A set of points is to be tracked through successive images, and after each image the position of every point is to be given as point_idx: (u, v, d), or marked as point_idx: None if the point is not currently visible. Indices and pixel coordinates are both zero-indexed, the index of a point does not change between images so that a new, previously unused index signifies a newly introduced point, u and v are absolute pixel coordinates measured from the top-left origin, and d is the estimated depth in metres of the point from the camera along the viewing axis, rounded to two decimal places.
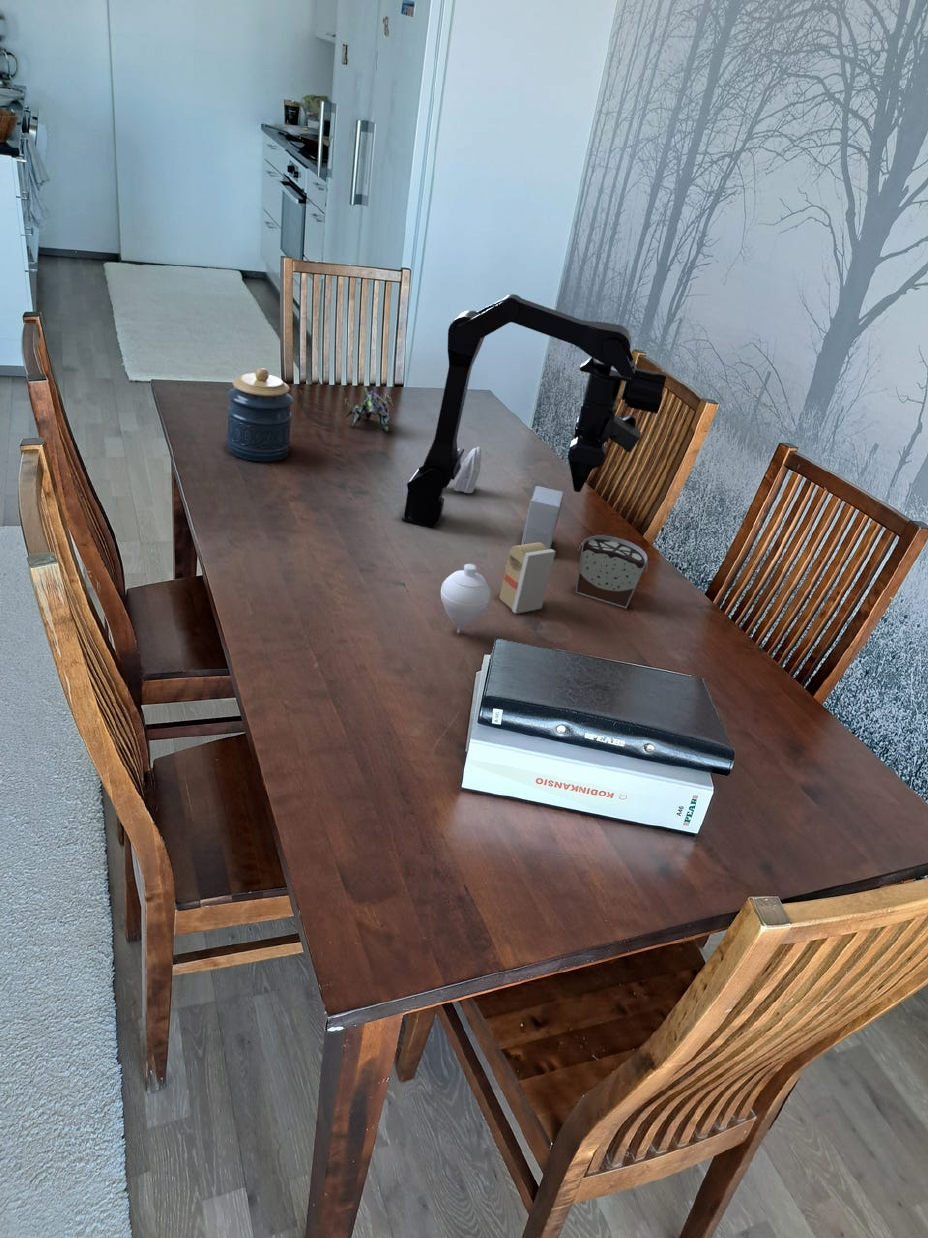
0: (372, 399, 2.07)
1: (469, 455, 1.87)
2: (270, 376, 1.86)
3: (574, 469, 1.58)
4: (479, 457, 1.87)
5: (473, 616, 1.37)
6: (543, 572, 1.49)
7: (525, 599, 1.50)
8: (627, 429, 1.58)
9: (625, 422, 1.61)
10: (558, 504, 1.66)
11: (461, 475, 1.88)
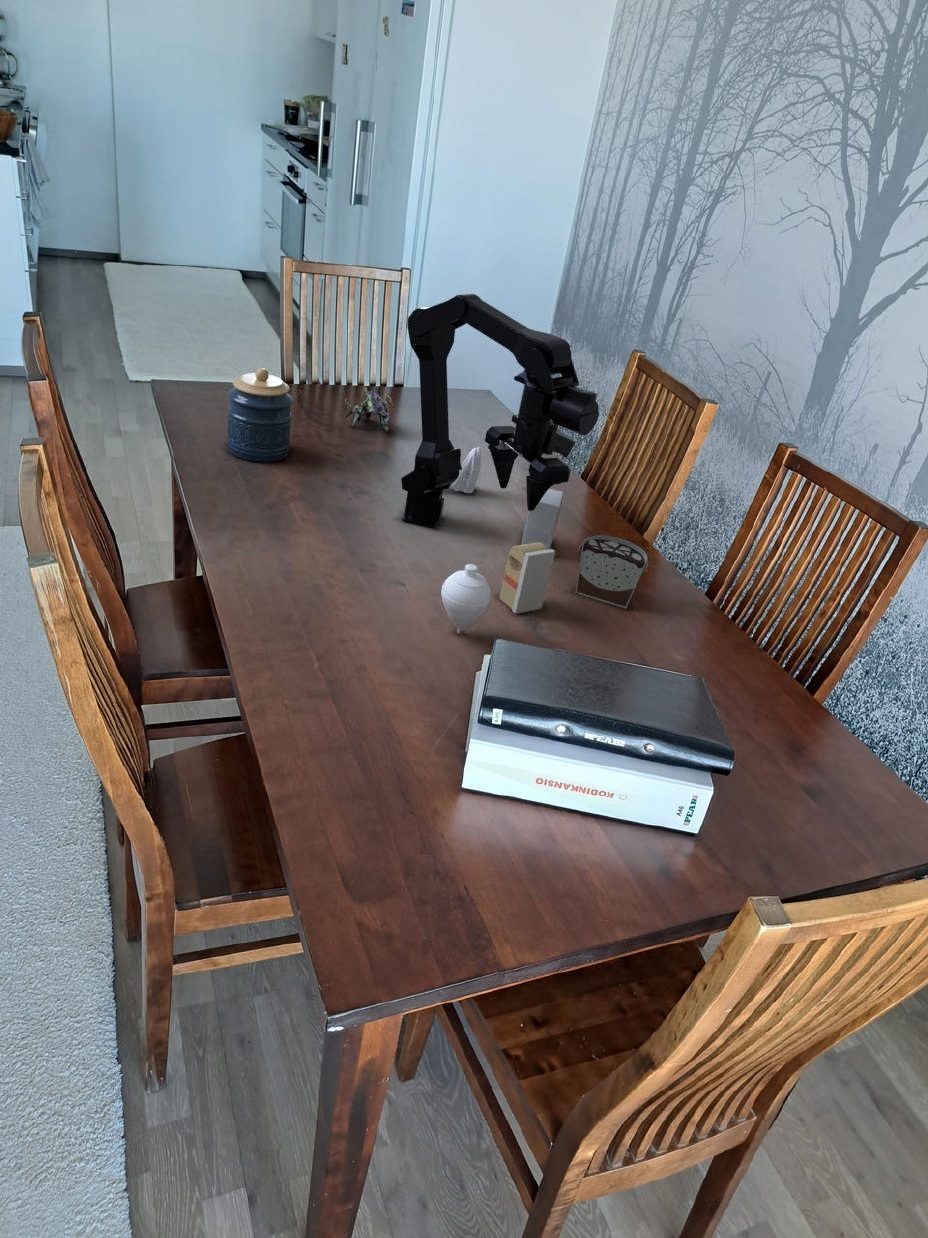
0: (372, 399, 2.07)
1: (469, 455, 1.87)
2: (270, 376, 1.86)
3: (534, 491, 1.52)
4: (479, 457, 1.87)
5: (473, 617, 1.37)
6: (543, 572, 1.49)
7: (525, 599, 1.50)
8: (564, 436, 1.55)
9: None
10: (558, 504, 1.66)
11: (461, 475, 1.88)
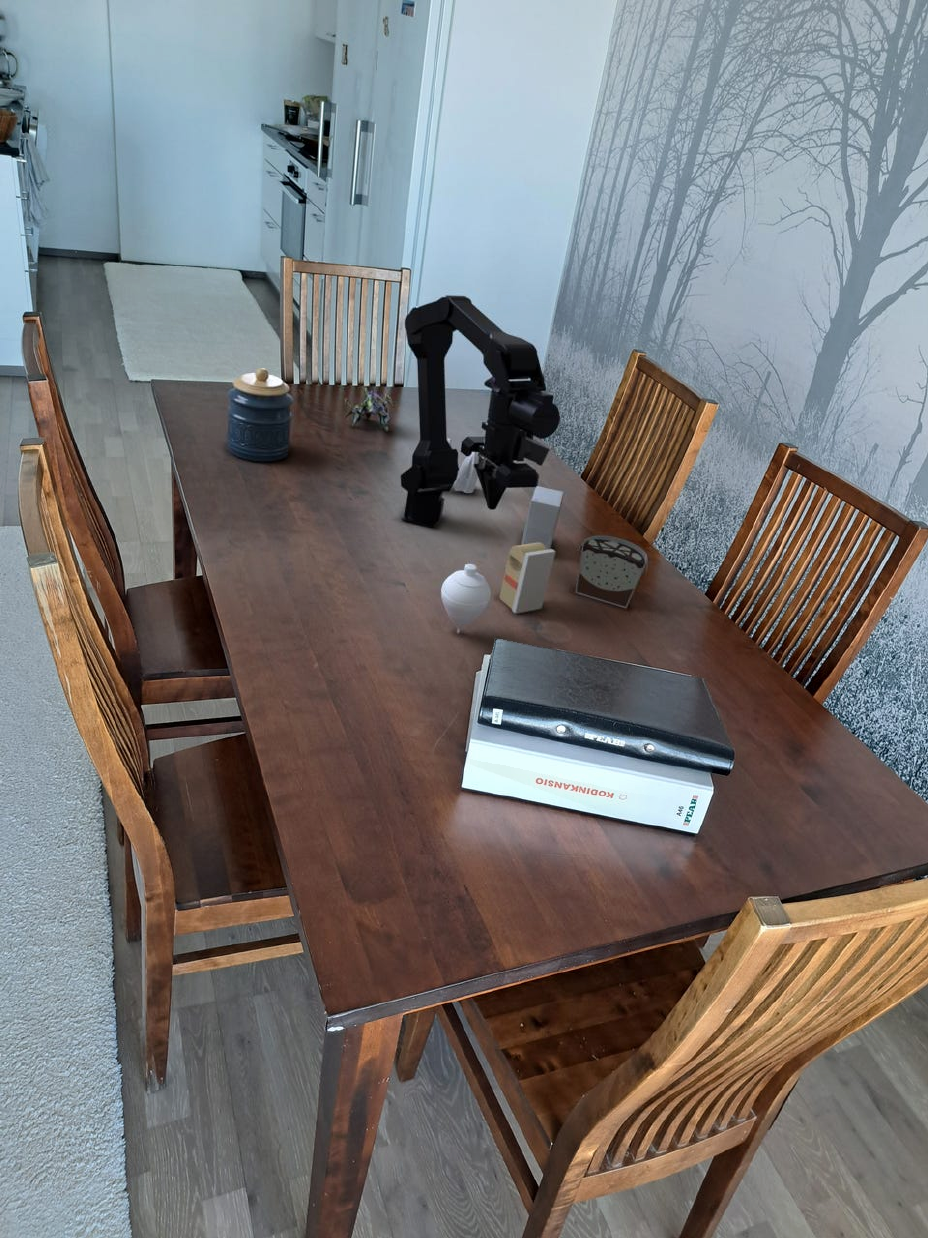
0: (372, 399, 2.07)
1: None
2: (270, 376, 1.86)
3: (492, 488, 1.52)
4: None
5: (473, 616, 1.37)
6: (543, 572, 1.49)
7: (525, 599, 1.50)
8: (537, 443, 1.52)
9: (526, 436, 1.54)
10: (558, 504, 1.66)
11: (461, 475, 1.88)
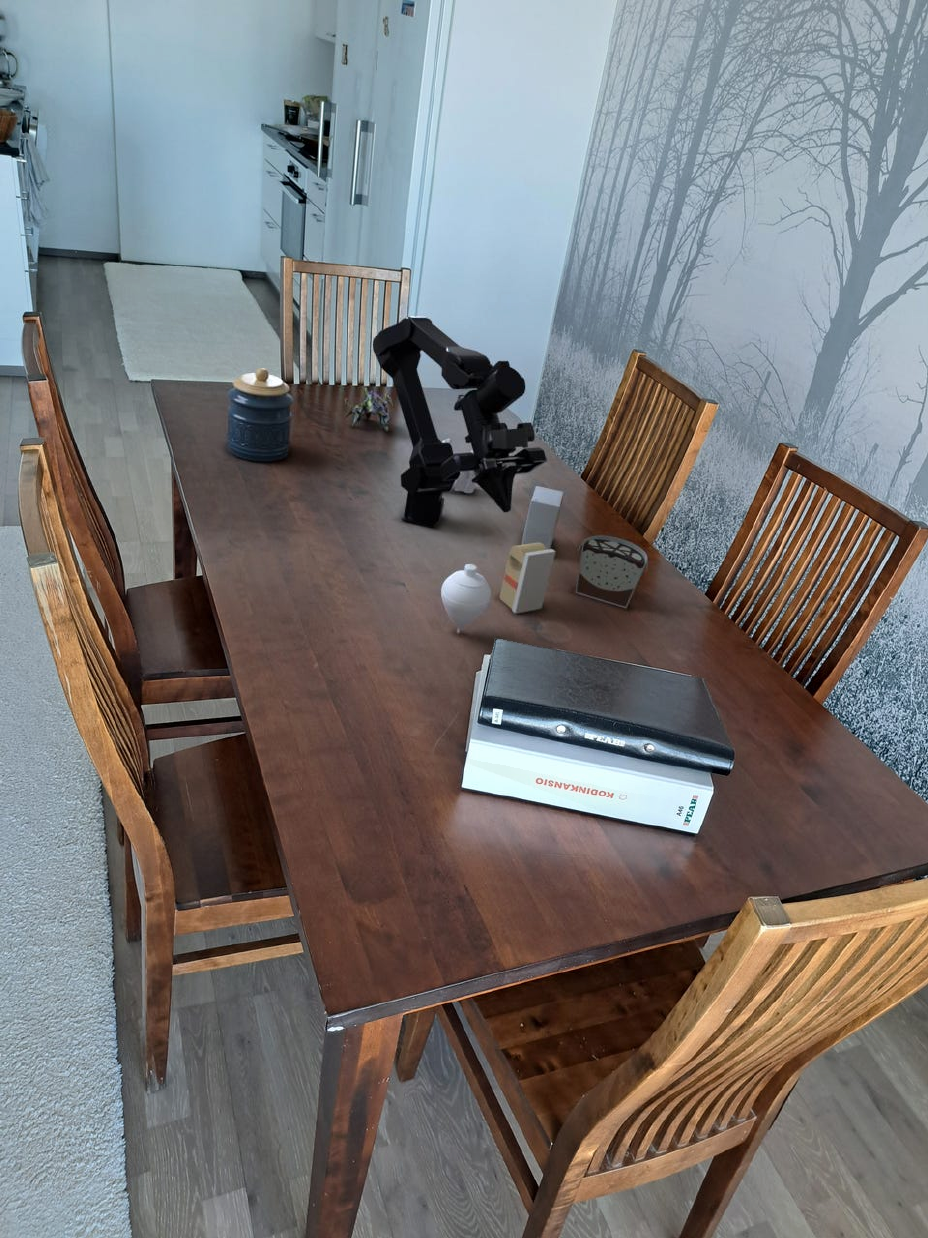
0: (372, 399, 2.07)
1: None
2: (270, 376, 1.86)
3: (488, 490, 1.53)
4: None
5: (473, 617, 1.37)
6: (543, 572, 1.49)
7: (525, 599, 1.50)
8: None
9: None
10: (558, 504, 1.66)
11: (461, 475, 1.88)
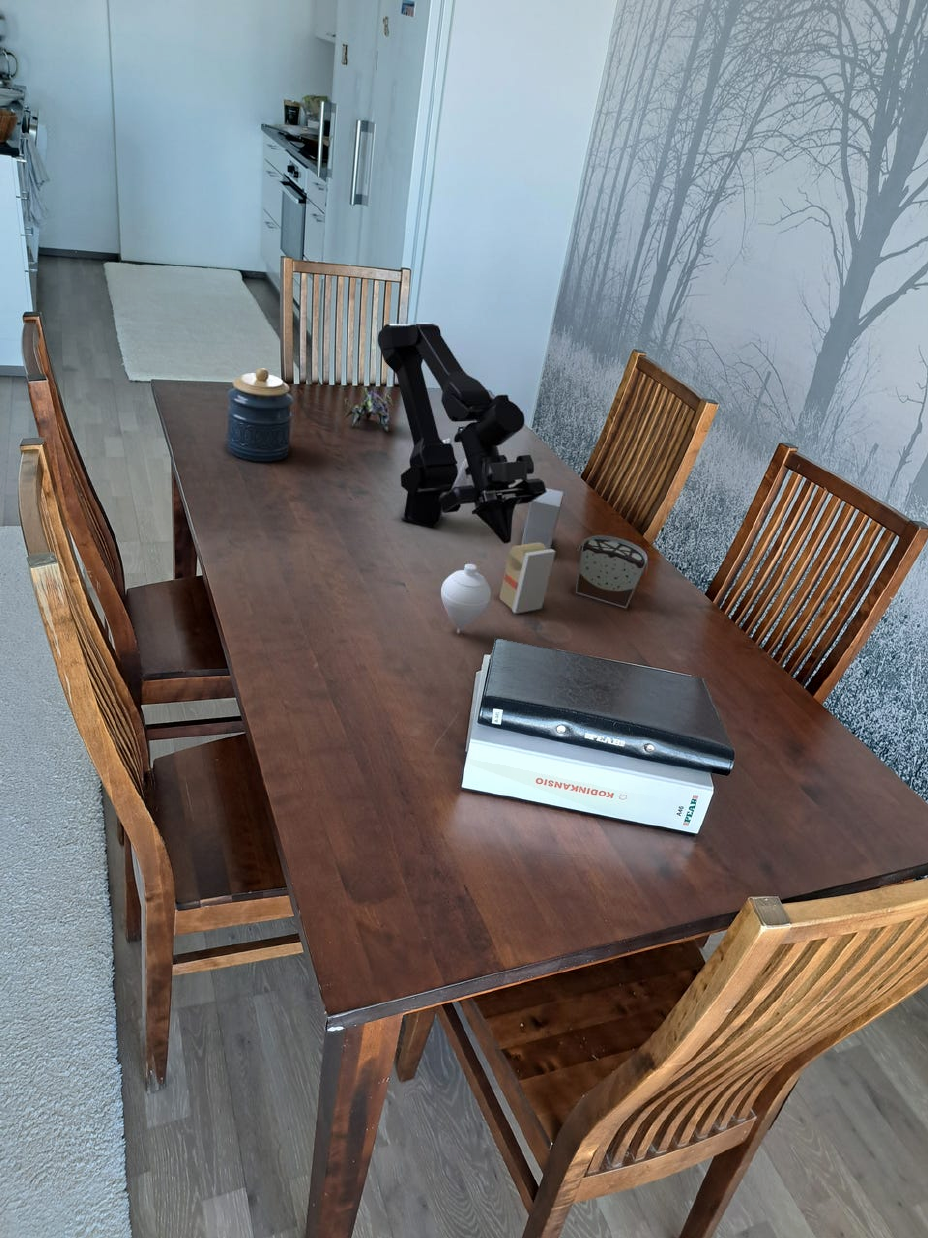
0: (372, 399, 2.07)
1: None
2: (270, 376, 1.86)
3: (488, 521, 1.54)
4: None
5: (473, 616, 1.37)
6: (543, 572, 1.49)
7: (525, 599, 1.50)
8: None
9: None
10: (558, 504, 1.66)
11: (461, 475, 1.88)
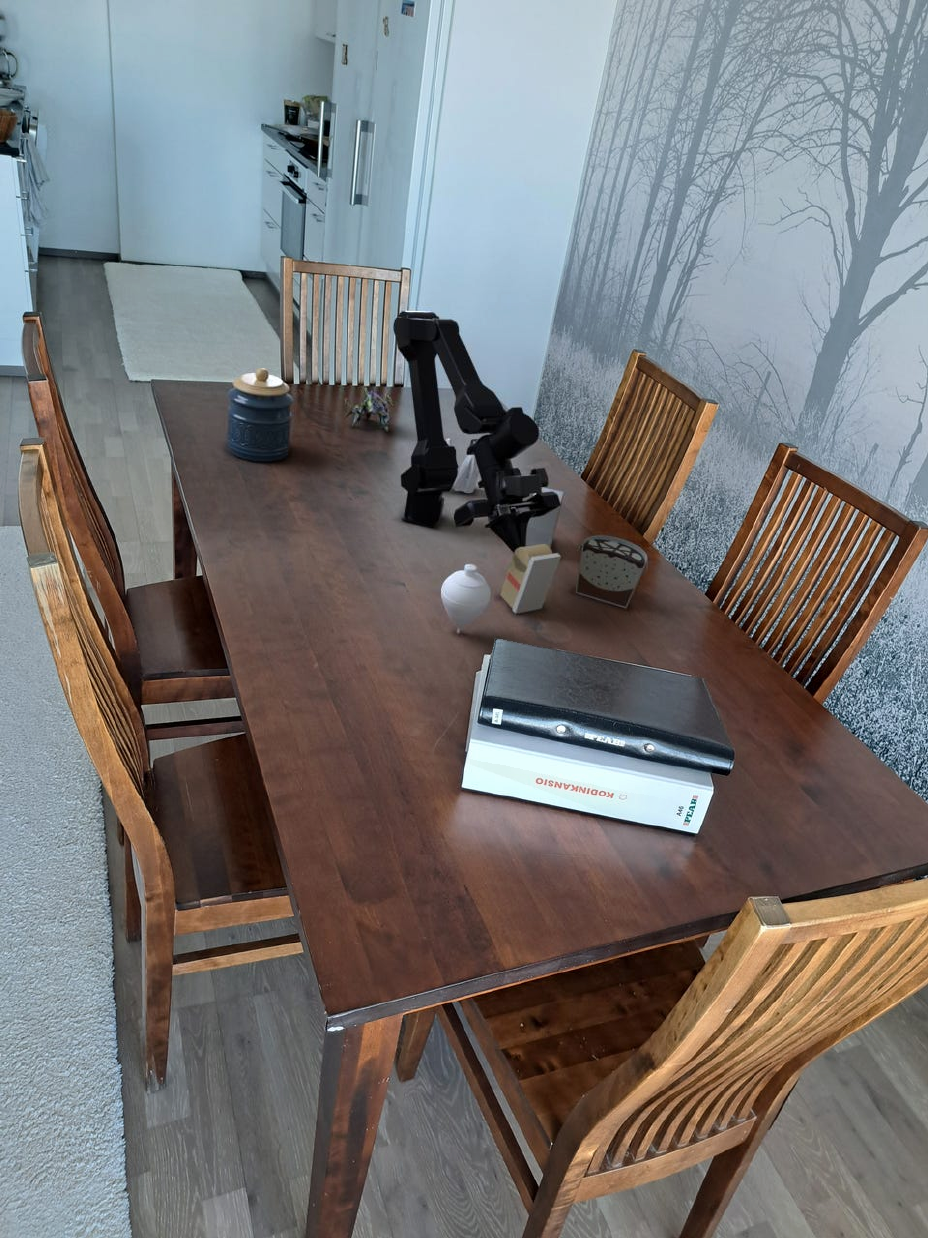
0: (372, 399, 2.07)
1: (469, 455, 1.87)
2: (270, 376, 1.86)
3: (501, 535, 1.52)
4: None
5: (473, 617, 1.37)
6: (547, 575, 1.48)
7: (526, 600, 1.49)
8: (513, 476, 1.46)
9: None
10: None
11: (461, 475, 1.88)
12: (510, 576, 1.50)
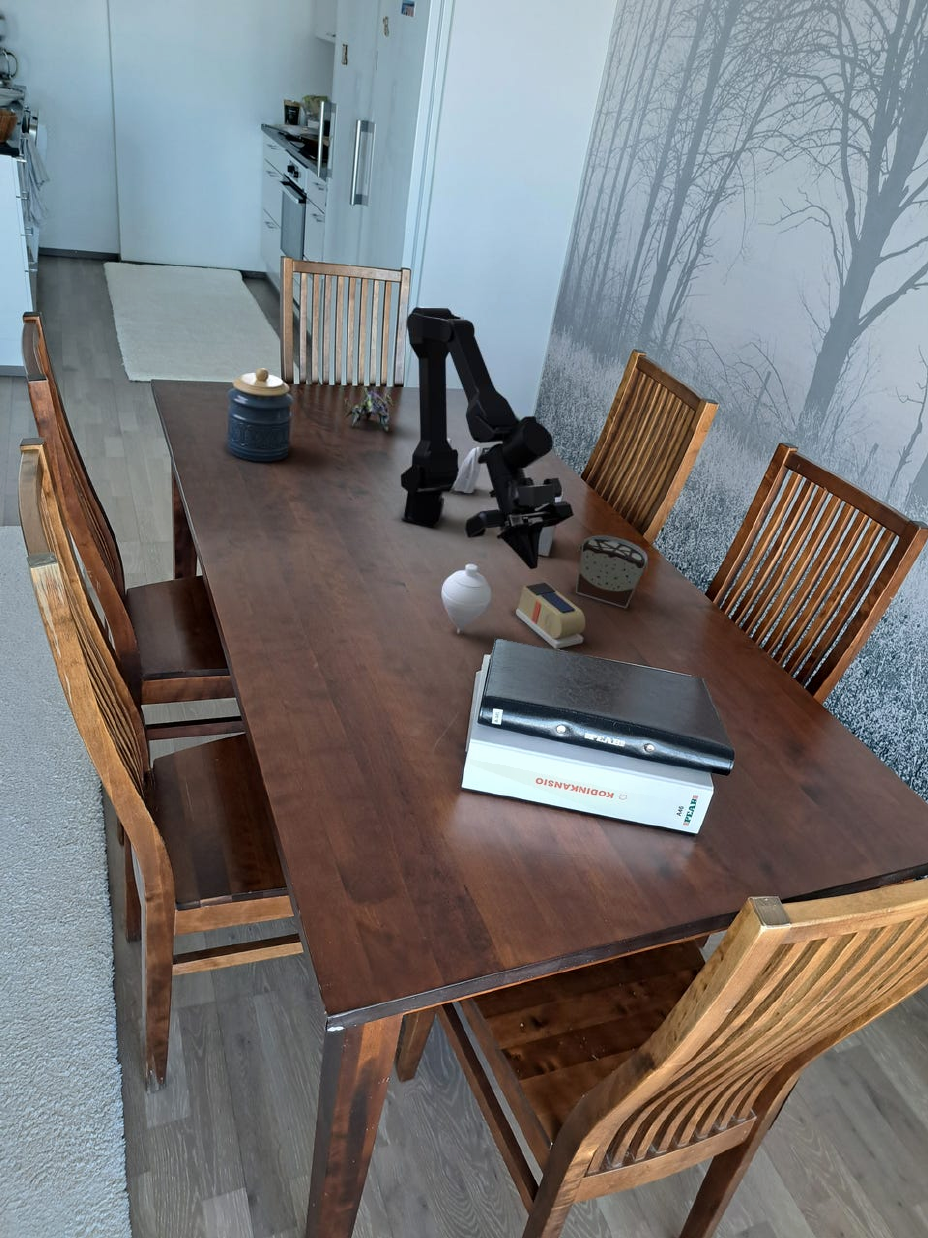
0: (372, 399, 2.07)
1: (469, 455, 1.87)
2: (270, 376, 1.86)
3: (513, 546, 1.49)
4: None
5: (473, 617, 1.37)
6: None
7: None
8: (526, 486, 1.44)
9: None
10: None
11: (461, 475, 1.88)
12: (538, 607, 1.45)
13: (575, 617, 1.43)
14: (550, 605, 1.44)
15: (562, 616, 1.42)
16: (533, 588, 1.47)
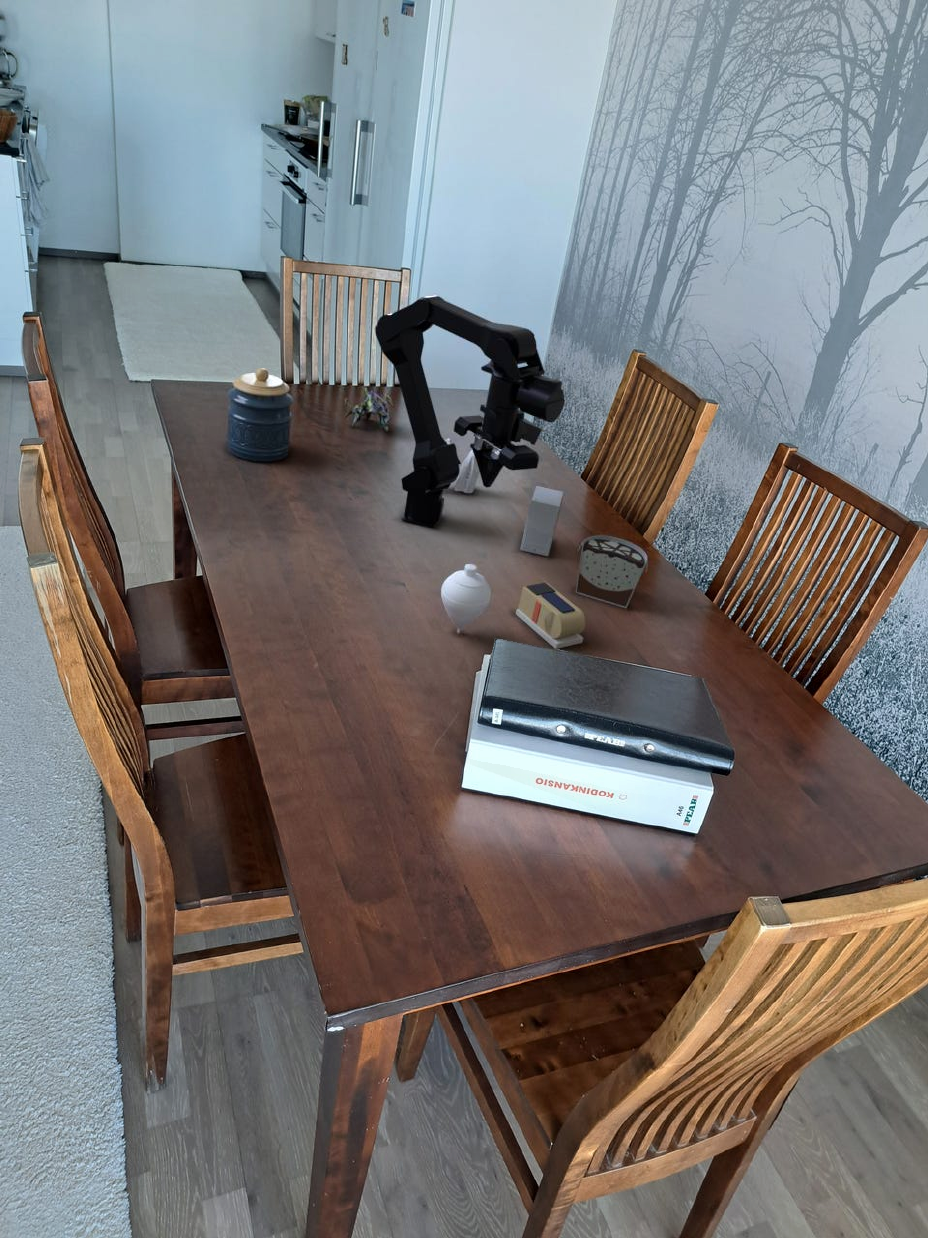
0: (372, 399, 2.07)
1: (469, 455, 1.87)
2: (270, 376, 1.86)
3: (490, 467, 1.59)
4: None
5: (473, 617, 1.37)
6: None
7: None
8: (531, 424, 1.59)
9: None
10: (558, 504, 1.66)
11: (461, 475, 1.88)
12: (538, 607, 1.45)
13: (575, 617, 1.43)
14: (550, 605, 1.44)
15: (562, 616, 1.42)
16: (533, 588, 1.47)
